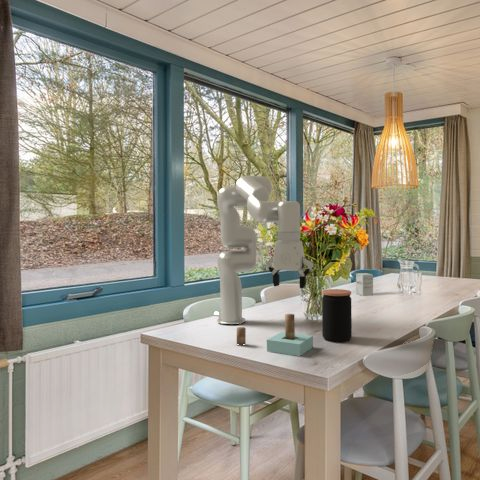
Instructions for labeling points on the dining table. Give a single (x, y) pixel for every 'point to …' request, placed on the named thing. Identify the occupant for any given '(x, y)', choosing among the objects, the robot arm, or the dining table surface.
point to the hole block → (290, 344)
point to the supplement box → (364, 284)
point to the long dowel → (289, 327)
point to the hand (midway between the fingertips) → (289, 286)
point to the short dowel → (241, 335)
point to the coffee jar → (336, 315)
